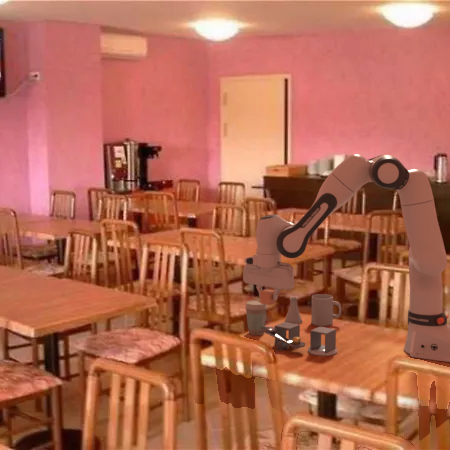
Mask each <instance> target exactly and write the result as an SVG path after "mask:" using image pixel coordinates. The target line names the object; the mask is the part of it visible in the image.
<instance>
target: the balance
mask: <svg viewBox="0 0 450 450" xmlns="http://www.w3.org/2000/svg"><path fill="white" fill-rule="evenodd" d="M260 331H261V332H264V334H267V335H269V336H271V337H272V338H274V339H275V338H276V339H278V340H277V345H276V351H281V352H283V351H285V350H287V349H289V346H290V348H293V349H295V350H299V349H300V348H304V347H305V346H306V343H305V342H304V341H302V340H301V336H300V337H293V338H292V341H291V340H289V338H287V337H286V338H285V337H283V336H282V335H280V334H278V333H276V331H277V328H275V326H274V327H273V326H265V327H262V328H260Z"/></svg>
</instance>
